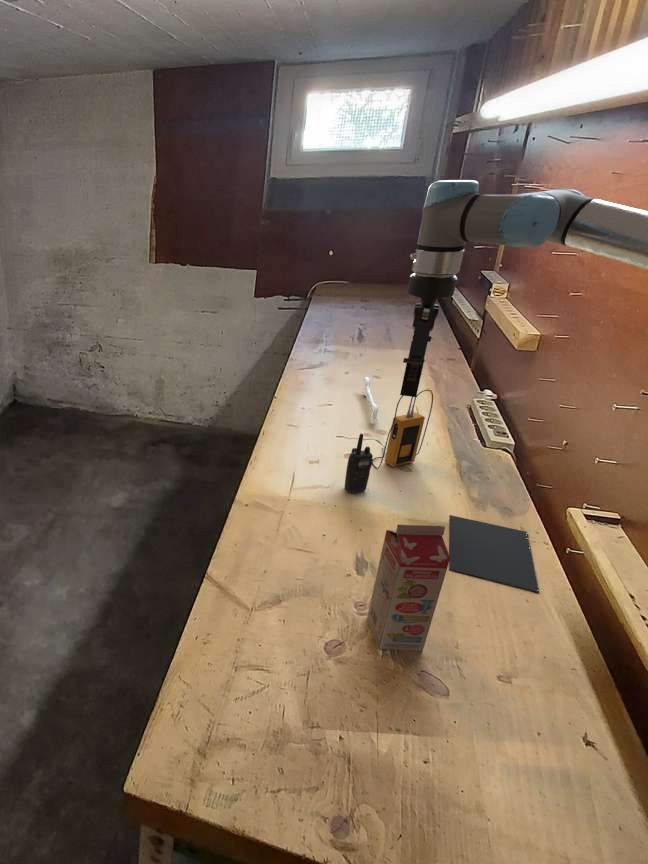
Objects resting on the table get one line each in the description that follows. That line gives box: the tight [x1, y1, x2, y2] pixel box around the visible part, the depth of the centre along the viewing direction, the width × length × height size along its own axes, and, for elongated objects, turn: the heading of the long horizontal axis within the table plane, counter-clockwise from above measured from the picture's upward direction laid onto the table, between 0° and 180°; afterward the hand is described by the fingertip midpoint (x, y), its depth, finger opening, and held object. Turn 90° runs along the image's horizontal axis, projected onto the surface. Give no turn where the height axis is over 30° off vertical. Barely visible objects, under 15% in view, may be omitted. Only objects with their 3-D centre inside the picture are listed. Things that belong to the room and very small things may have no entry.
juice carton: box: [366, 523, 450, 652], centre depth 88 cm, size 7×7×22 cm
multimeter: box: [371, 389, 434, 470], centre depth 142 cm, size 15×10×20 cm
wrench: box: [362, 377, 379, 425], centre depth 172 cm, size 28×2×6 cm, turn 164°
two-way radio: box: [344, 433, 374, 493], centre depth 130 cm, size 6×4×15 cm
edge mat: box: [448, 514, 540, 593], centre depth 111 cm, size 14×20×1 cm
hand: (410, 383), depth 110 cm, fingers open, 13 cm apart
